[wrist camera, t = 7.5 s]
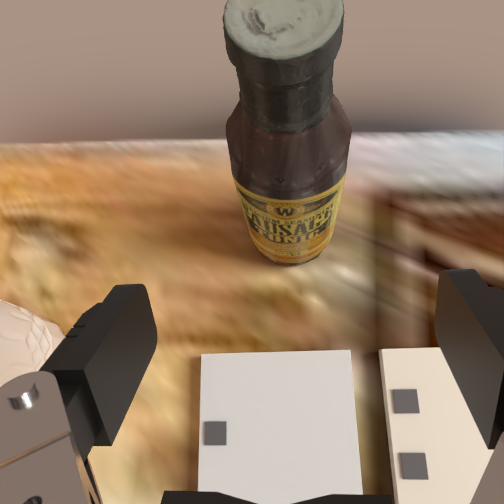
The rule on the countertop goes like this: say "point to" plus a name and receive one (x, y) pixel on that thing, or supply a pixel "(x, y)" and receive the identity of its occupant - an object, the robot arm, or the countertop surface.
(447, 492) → the tile two
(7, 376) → the white cup
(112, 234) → the countertop surface
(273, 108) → the sauce bottle
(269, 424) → the tile one
